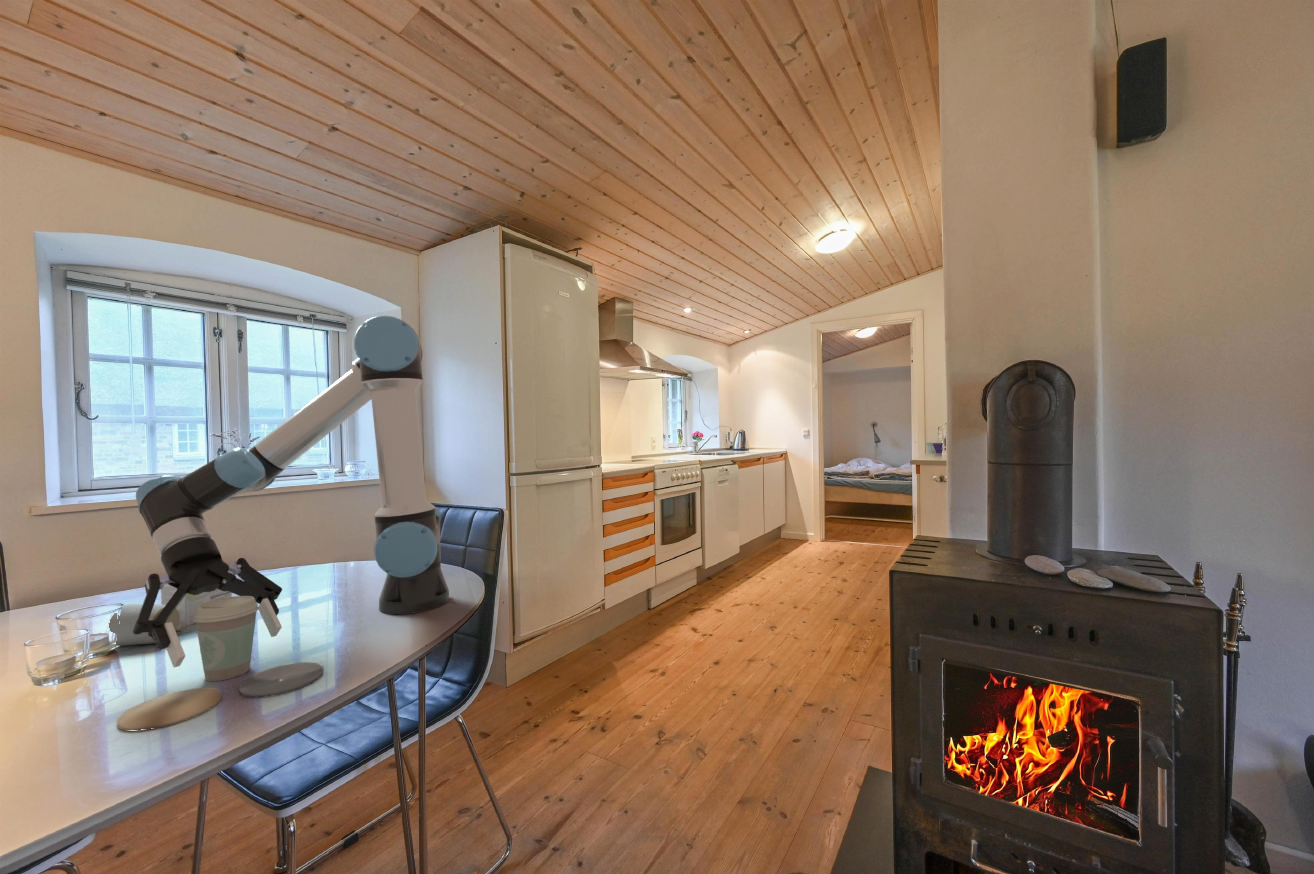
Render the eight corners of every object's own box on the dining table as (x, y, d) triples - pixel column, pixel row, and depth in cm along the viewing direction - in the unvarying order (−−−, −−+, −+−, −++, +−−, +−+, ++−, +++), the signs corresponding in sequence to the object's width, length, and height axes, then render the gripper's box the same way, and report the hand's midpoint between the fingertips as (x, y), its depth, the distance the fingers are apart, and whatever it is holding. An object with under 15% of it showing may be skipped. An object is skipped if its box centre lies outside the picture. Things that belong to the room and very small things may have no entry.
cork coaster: (226, 684, 83) (226, 681, 83) (214, 714, 74) (214, 710, 74) (131, 705, 77) (131, 701, 77) (105, 740, 68) (105, 735, 68)
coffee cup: (190, 674, 87) (189, 603, 87) (254, 658, 93) (253, 591, 93) (197, 690, 81) (196, 614, 81) (264, 672, 88) (263, 601, 88)
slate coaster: (322, 660, 92) (322, 657, 92) (323, 684, 83) (323, 680, 83) (244, 676, 86) (244, 673, 86) (234, 704, 77) (234, 700, 77)
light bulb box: (208, 609, 122) (208, 564, 122) (233, 610, 121) (233, 564, 121) (159, 626, 111) (158, 576, 112) (186, 627, 111) (185, 576, 111)
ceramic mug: (154, 648, 99) (154, 608, 99) (105, 651, 98) (105, 611, 98) (194, 629, 109) (194, 593, 110) (150, 632, 108) (150, 595, 108)
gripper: (258, 548, 106) (302, 633, 99) (82, 579, 83) (122, 691, 77) (272, 524, 103) (318, 609, 96) (95, 548, 81) (137, 661, 74)
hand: (231, 646), depth 86 cm, fingers open, 13 cm apart
